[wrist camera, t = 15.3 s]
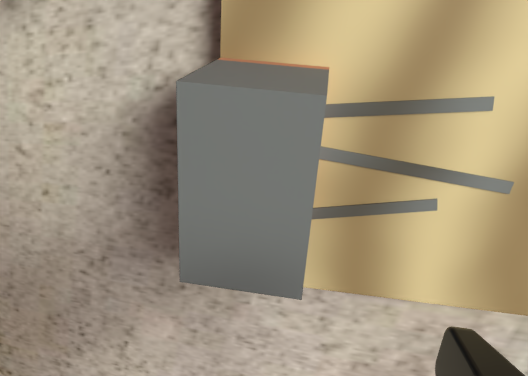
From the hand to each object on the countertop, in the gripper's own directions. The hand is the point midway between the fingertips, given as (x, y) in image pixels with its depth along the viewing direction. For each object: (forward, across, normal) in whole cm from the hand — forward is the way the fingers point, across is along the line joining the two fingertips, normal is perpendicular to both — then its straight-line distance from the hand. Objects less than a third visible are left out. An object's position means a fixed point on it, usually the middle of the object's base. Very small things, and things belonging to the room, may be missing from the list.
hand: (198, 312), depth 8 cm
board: (+11, -5, 0) cm, 12 cm away
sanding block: (+10, 0, 0) cm, 10 cm away
